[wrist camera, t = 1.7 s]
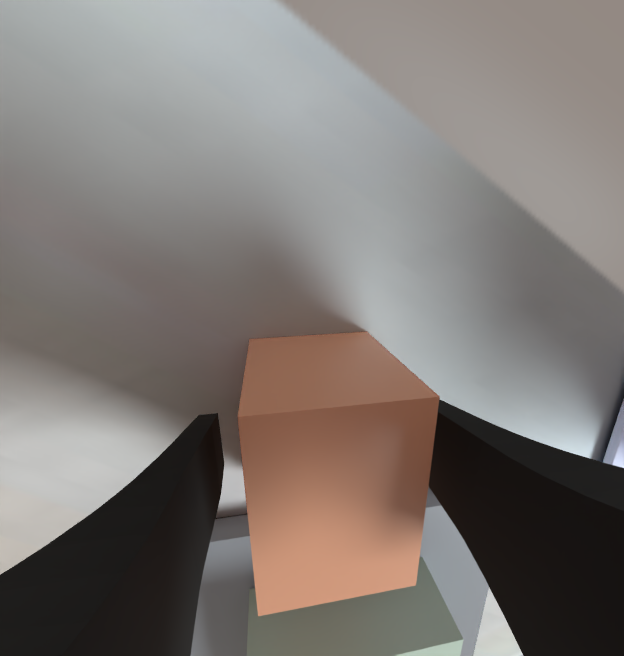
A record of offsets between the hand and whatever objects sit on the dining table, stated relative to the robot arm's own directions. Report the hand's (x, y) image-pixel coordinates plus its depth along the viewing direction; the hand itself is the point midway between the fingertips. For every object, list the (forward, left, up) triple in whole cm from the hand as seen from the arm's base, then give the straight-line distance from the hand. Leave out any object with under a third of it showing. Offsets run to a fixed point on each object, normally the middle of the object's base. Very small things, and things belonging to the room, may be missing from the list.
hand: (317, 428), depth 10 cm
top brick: (0, 0, -2) cm, 2 cm away
